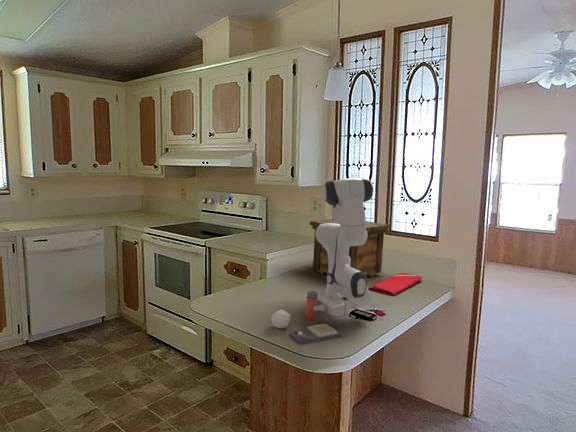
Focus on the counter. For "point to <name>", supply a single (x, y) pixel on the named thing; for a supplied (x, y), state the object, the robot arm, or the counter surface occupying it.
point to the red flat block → (395, 284)
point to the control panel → (314, 333)
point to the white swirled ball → (280, 319)
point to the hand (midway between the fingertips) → (309, 305)
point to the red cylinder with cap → (311, 306)
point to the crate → (355, 250)
